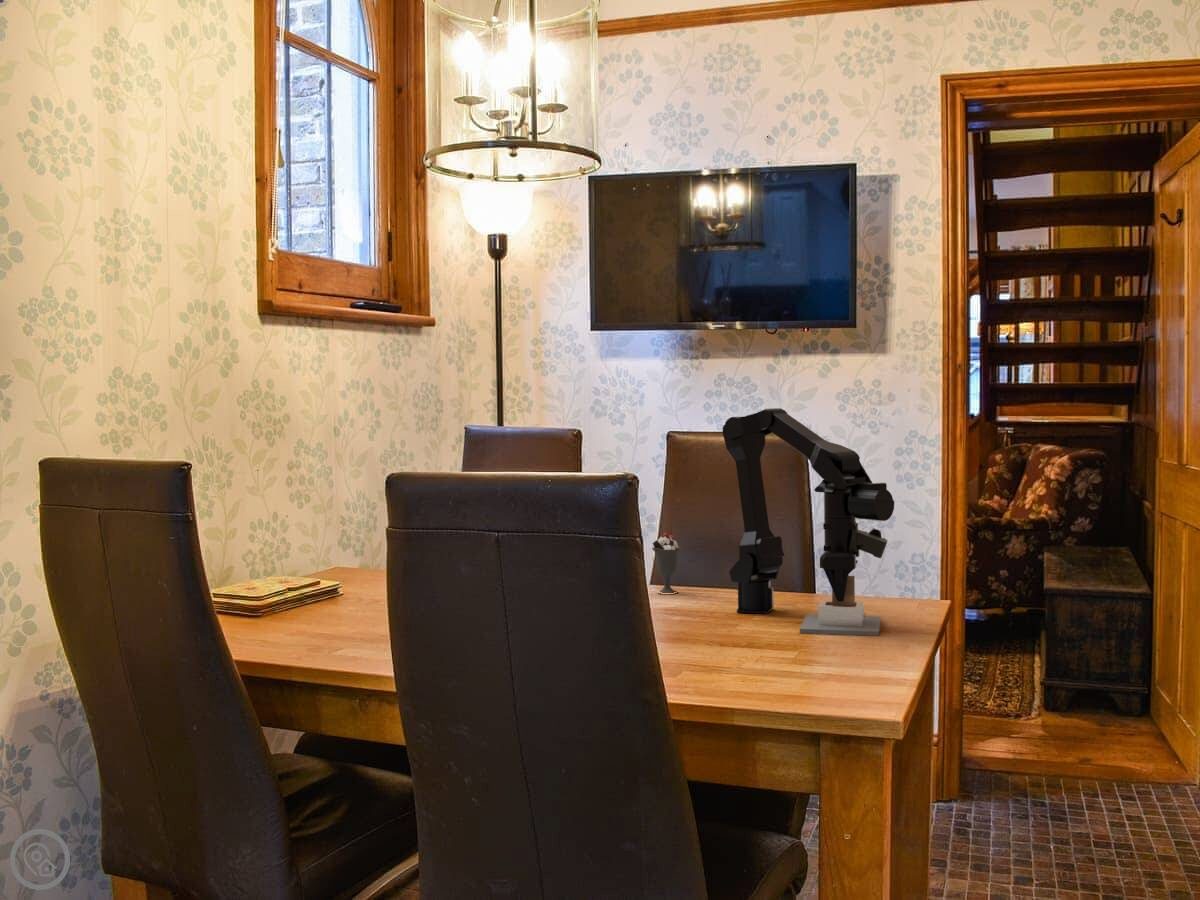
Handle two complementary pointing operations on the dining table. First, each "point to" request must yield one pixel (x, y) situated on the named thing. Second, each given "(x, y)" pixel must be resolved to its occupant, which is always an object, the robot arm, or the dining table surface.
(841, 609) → the white hollow frame
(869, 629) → the slate board
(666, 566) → the sundae
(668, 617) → the dining table surface
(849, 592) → the wooden block
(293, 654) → the dining table surface
